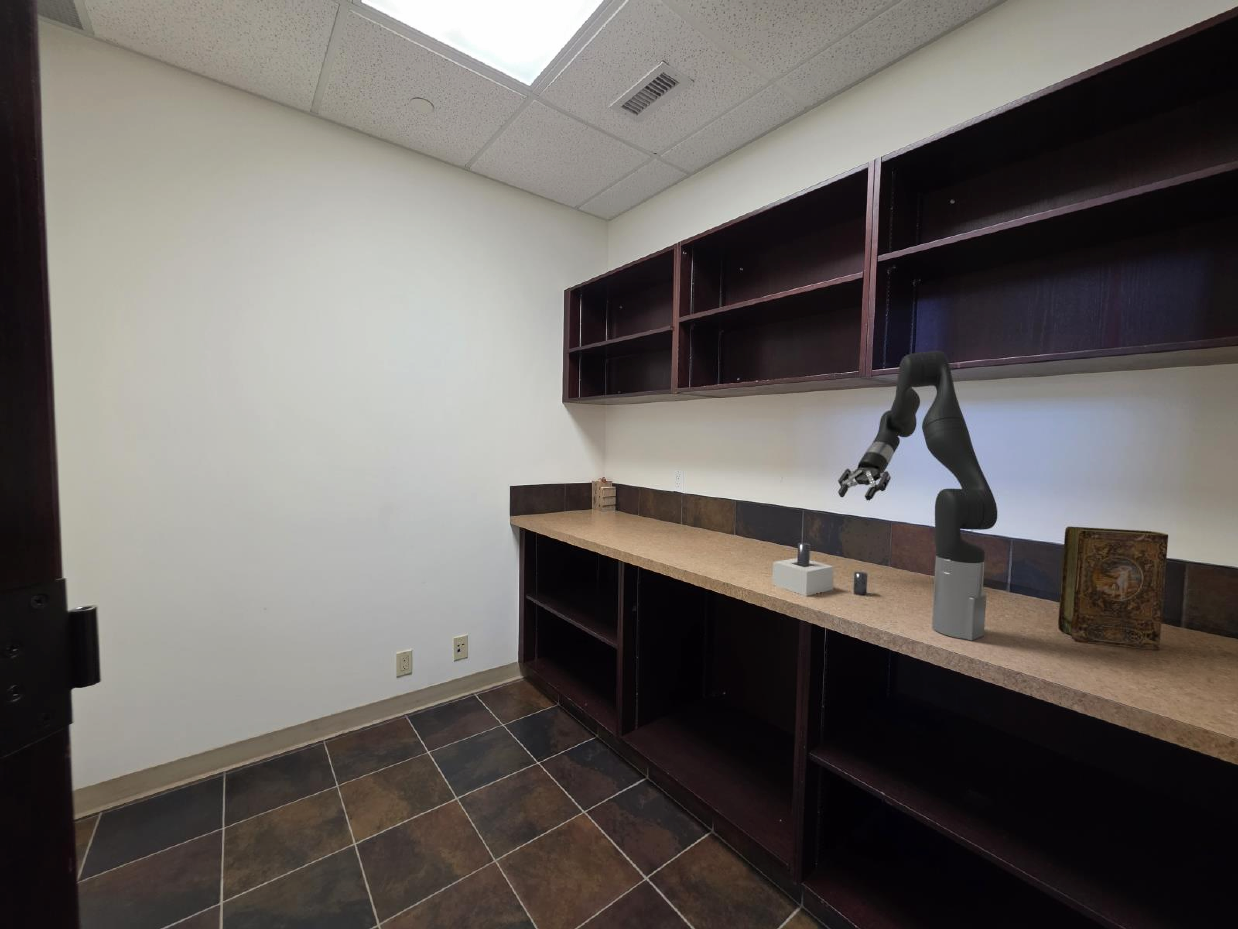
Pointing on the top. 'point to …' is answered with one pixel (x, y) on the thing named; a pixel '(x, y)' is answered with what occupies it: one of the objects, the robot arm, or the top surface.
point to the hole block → (803, 577)
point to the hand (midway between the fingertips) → (853, 497)
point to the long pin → (803, 554)
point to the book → (1113, 586)
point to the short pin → (860, 583)
